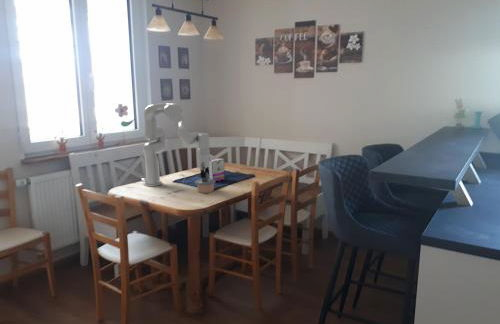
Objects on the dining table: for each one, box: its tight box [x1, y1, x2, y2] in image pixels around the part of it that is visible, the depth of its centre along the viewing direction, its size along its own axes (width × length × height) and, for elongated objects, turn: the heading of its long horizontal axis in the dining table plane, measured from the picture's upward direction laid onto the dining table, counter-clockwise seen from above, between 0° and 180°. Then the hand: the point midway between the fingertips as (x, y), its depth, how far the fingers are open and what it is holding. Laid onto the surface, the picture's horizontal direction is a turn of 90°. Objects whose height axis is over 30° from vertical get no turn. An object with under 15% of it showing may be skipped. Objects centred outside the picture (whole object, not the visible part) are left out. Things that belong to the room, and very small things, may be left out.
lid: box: [194, 172, 216, 185], centre depth 273 cm, size 14×14×7 cm
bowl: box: [196, 183, 215, 194], centre depth 274 cm, size 11×11×6 cm
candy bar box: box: [208, 158, 226, 183], centre depth 299 cm, size 11×5×16 cm, turn 129°
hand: (205, 175), depth 272 cm, fingers open, 9 cm apart
